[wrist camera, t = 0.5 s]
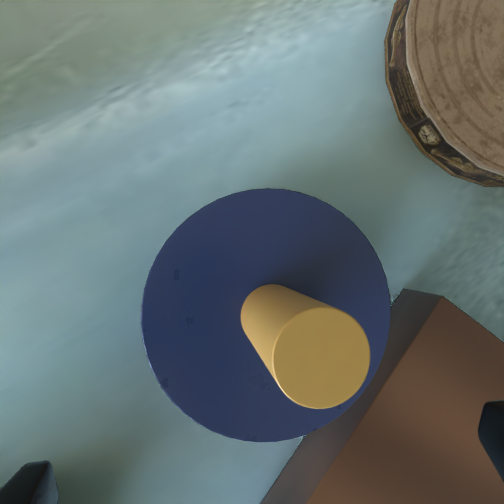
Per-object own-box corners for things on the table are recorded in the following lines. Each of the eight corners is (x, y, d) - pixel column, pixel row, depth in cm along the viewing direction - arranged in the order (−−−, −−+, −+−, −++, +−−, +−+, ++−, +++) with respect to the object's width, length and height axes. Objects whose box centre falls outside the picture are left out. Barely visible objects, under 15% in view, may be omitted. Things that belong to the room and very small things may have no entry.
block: (412, 625, 25) (452, 694, 22) (246, 523, 24) (257, 577, 20) (550, 399, 27) (613, 425, 23) (403, 287, 25) (442, 295, 21)
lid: (294, 476, 19) (367, 639, 11) (91, 345, 18) (9, 424, 10) (422, 282, 20) (575, 304, 12) (239, 142, 19) (275, 63, 11)
